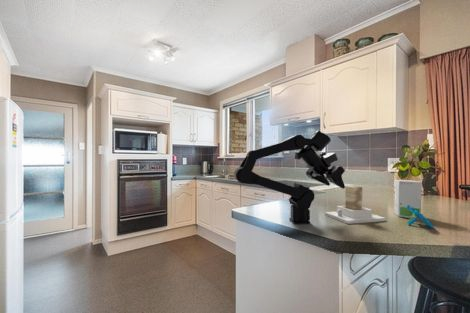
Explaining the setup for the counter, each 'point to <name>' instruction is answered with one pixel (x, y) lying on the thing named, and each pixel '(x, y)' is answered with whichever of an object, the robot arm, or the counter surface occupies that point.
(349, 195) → the block
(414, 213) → the blue cog crank toy
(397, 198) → the skincare box
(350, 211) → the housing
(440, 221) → the counter surface
